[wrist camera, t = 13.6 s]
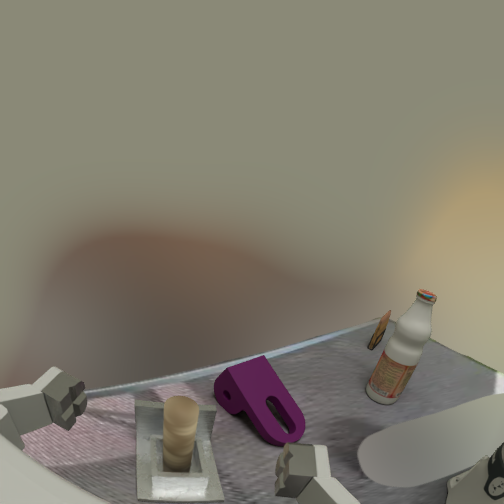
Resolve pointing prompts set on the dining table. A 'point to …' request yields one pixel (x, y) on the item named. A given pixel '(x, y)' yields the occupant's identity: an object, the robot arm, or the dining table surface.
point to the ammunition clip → (379, 331)
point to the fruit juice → (402, 351)
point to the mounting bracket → (260, 399)
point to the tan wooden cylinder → (179, 433)
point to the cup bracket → (151, 460)
